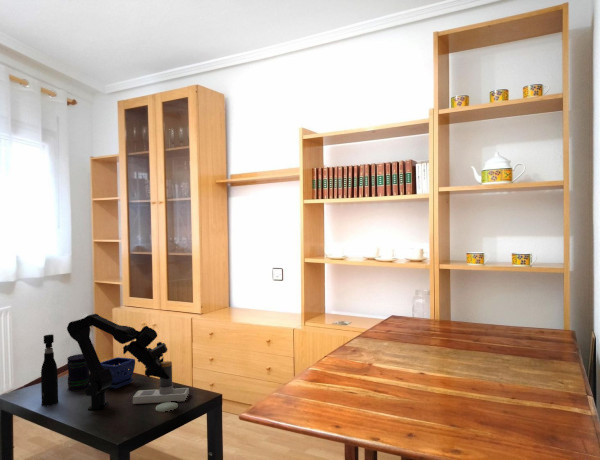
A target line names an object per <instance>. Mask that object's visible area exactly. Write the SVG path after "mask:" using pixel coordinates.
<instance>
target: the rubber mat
mask: <svg viewBox="0 0 600 460" xmlns="http://www.w3.org/2000/svg"><path fill="white" fill-rule="evenodd" d="M178 407H179V404H178V403H176V402H161V403H160V404H159V403H158V404H157V405H156V406H155V411H156V412H160V413H166V412H165V411H168V412H171V411H170V410H172V411H174V409H175V410H177V408H178Z"/></svg>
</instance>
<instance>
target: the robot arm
mask: <svg viewBox="0 0 600 460" xmlns="http://www.w3.org/2000/svg"><path fill="white" fill-rule="evenodd" d="M90 327H95V328H96V329H99V330H101V331H103V332H105V333H106V334H109V335H111V336H112V338H113V339H114V340H115V341H116V342H118V343H119V344H121V345H124V344H125V345H124V346H122V349H123V353H122V354H123V355H126V353H129V354H130V355H132V356H133V357H134V359H136V360H137V363H141V364H143V366H144V368H145V371H144V375H145V376H146V377H148V378H150V377H156V378H159V379H160V378H163V379H167V380H168V379H169V378H170V377H169V376H168V375H167V373H166V372H165V371H164V370H163V369H162V363H161V362H164V354H165V353H167V352H168V348H167V344H165V343H164V342H162V341H159V342H157V343H156V346H155V347H154V348H151V347H149V345H151V343H153V342H154V341H155V340H156V339H157V338H158V332H157V331H156V330H154V328H152V327H149V326H148V325H144V326H143V327H142V329H141V330H136V328H135V327H131V326H128V325H120V324H117V323H115V322H113V321H111V320H109V319H107V318H104V317H103V316H100V315H99V314H98V313H92V314H88V315H87V316H85V317H83V318H81V319H76V320H72V321H69V323H68V324H67V327H66V331H67V332H68V334H69V336H70V338H71V339H73V340H74V341H75V342H76V343H77V344H78V346H79V349H80V351H81V354H83V356H84V359H85V361H86V363H87V366H88V368H89V374H90V378H89V381H90V386H89V387H88V388H86V389H84V390H85V391H84V392H85V396H88V397H90V406H88V408H87V410H88V411H92V410H93V411H95V410H96V411H97V410H104V409H105V408H107V406H108V405H109V402H107V400H106V399H107V397H106V392H107V391H109V390H110V389H111V388H110V386H111V384H112V381H113V380H112V377H113V376H112V375H111V373H110V370H109V368H108V369H104V368H103V367H102V365H101V361H100V359H99V356H98V353H97V351H96V349H95V347H94V345H93V342H92V339H91V337H90V334H91V328H90ZM128 343H129V344H128ZM160 363H161V364H160Z"/></svg>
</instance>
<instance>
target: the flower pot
mask: <svg viewBox="0 0 600 460" xmlns="http://www.w3.org/2000/svg"><path fill="white" fill-rule="evenodd" d="M100 363H101V365H102V367H103V368H104V369H108V368H109V370H110V373H111V375H112V376H113V377H112V380H113V381H112V384H111V386H110V389H116V390H117V389H119V388H122V387H123V386H126V385H129V384H131V383H132V382H133V381H134V377H133V374H134V372H135V367H136V358H128V357H115V358H114V357H113V358H111V359H108V360H105V361H100Z"/></svg>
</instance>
